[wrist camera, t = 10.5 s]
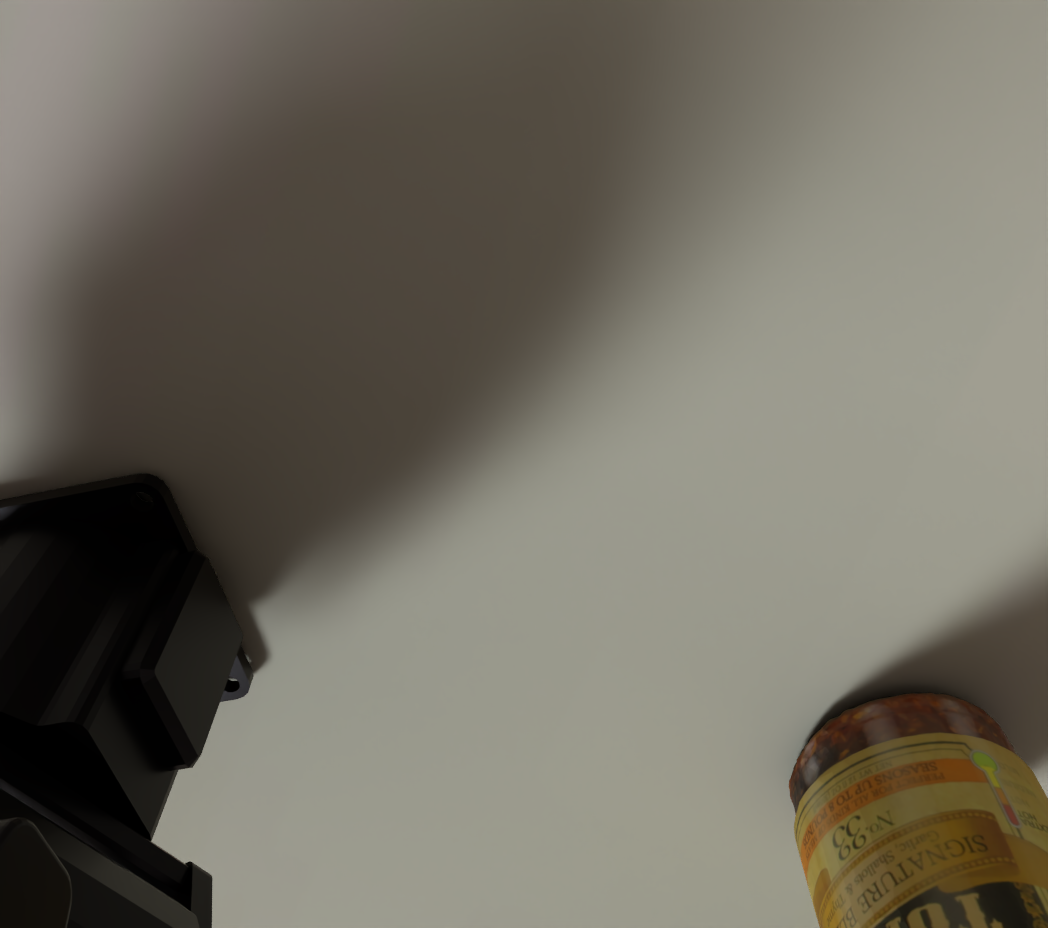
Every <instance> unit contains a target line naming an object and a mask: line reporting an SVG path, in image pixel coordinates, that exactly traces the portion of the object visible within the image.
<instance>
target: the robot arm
mask: <svg viewBox="0 0 1048 928" xmlns="http://www.w3.org/2000/svg"><path fill="white" fill-rule="evenodd" d="M137 492H144V493H146V494H148V495H150V497H151V498H152V499H153V502H146V501H144V500H142V499H140V498H139V496H138V495H137ZM242 638H243V635H242V632H241V630H240V627H239V625H238V623H237V621H236V619H235V616H234V614H233V612H232V610H231V608H230V605H229V603H228V601H227V599H226V597H225V594H224V592H223V590H222V588H221V586H220V583H219V581H218V579H217V577H216V575H215V572H214V570H213V568H212V566H211V564H210V561H209V559H208V558H207V557H206V556H205V555H204V554H202V553H201V552H200V551H197V549H196V546H195V544H194V542H193V540H192V538H191V535H190V533H189V531H188V529H187V527H186V525H185V522H184V520H183V518H182V516H181V514H180V511H179V509H178V507H177V505H176V503H175V501H174V498H173V496H172V494H171V492H170V490H169V488H168V486H167V485H166V484H165V482H164V481H163V480H161V479H160V478H158V477H157V476H154V475H151V474H148V473H144V474H134V475H129V476H124V477H118V478H113V479H108V480H103V481H98V482H92V483H87V484H82V485H77V486H71V487H66V488H61V489H56V490H51V491H45V492H40V493H35V494H30V495H24V496H19V497H14V498H9V499H3V500H0V928H212V876H211V875H210V874H209V873H207V872H206V871H204V870H203V869H201V868H200V867H198V866H197V865H195V864H194V863H192V862H187V863H185V864H184V863H183V862H181V861H180V860H178V859H177V858H175V857H174V856H172V855H171V854H169V853H168V852H166V851H165V850H163V849H162V848H160V847H159V846H157V845H156V844H154V843H153V842H151V841H152V838H153V835H154V833H155V830H156V827H157V825H158V822H159V819H160V817H161V814H162V812H163V809H164V806H165V804H166V801H167V798H168V796H169V793H170V790H171V788H172V785H173V782H174V780H175V777H176V775H177V772H178V770H179V769H185V768H192V767H193V766H194V764H195V763H196V761H197V760H198V758H199V757H200V755H201V753H202V750H203V747H204V745H205V742H206V739H207V736H208V734H209V731H210V728H211V725H212V722H213V720H214V717H215V714H216V711H217V708H218V706H219V703H220V702H223V701H228V700H234V699H238V698H241V697H244V696H245V695H246V694H247V693H248V691H249V688H250V685H251V682H252V679H253V671H252V669H251V666H250V664H249V662H248V660H247V658H246V655H245V653H244V651H243V649H242V647H241V645H240V644H241V641H242ZM229 677H232V678H235V679H236V680H237V681H231V680H228V678H229Z"/></svg>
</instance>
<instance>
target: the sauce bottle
mask: <svg viewBox="0 0 1048 928" xmlns="http://www.w3.org/2000/svg"><path fill="white" fill-rule="evenodd" d="M789 789H790V797H791V800H792V802H793V805H794V807H795V813H796V817H795V824H794V832H795V839H796V843H797V847H798V851H799V854H800V858H801V862H802V865H803V869H804V873H805V876H806V880H807V884H808V888H809V891H810V895H811V898H812V902H813V905H814V909H815V912H816V916H817V919H818V923H819V926H820V928H1048V798H1047V796H1046V794H1045V793H1044V791H1043V789H1042V787H1041V785H1040V784H1039V782H1038V780H1037V778H1036V776H1035V775H1034V773H1033V771H1032V770H1031V769H1030V768H1029V767H1028V766H1027V764H1026V763H1025V762H1024V761H1023V760H1022V759H1021V758H1020V757H1019V756H1017V755H1016V753H1015V751H1014V748H1013V746H1012V745H1011V744H1010V742H1009V740H1008V738H1007V737H1006V735H1005V734H1004V732H1003V731H1002V730H1001V728H1000V727H999V725H998V724H997V723H996V722H995V721H994V720H993V718H991V717H990V716H989V715H988V714H986V712H985V711H984V710H982V709H980V708H978V707H977V706H975V705H973V704H971V703H969V702H967V701H964V700H961V699H959V698H956V697H954V696H951V695H946V694H933V693H931V692H929V693H919V694H914V693H911V694H902V695H898V696H893V697H887V698H881V699H876V700H873V701H868V702H866V703H865V704H862V705H859V706H857V707H856V708H853V709H847V710H845V711H843V713H842V714H841V715H840V716H838V717H835V718H832V719H830V720H828V721H827V723H826V724H825V725H824V726H823V727H822V729H820V730H819V731H818V732H817V733H816V734H815V735H814V736H813V737H812V738H811V740H810V741H809V742H808V744H807V745H806V746H805V748H804V749H803V750H802V753H801V755H800V756H799V757H798V759H797V763H796V764H795V766H794V770H793V772H792V775H791V779H790V781H789Z"/></svg>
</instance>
